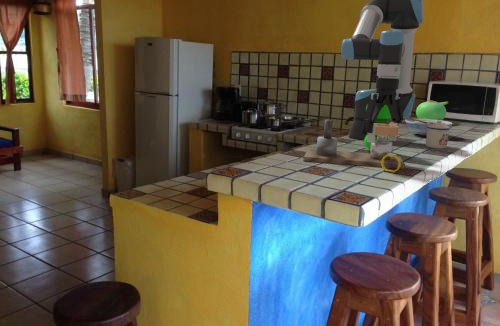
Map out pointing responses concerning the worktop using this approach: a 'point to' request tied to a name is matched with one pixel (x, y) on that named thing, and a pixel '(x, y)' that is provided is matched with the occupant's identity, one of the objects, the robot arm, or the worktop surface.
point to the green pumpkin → (431, 110)
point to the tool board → (343, 153)
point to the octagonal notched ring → (386, 129)
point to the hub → (380, 148)
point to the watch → (391, 156)
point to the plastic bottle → (382, 119)
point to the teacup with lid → (437, 135)
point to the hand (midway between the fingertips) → (381, 141)
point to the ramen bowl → (422, 125)
